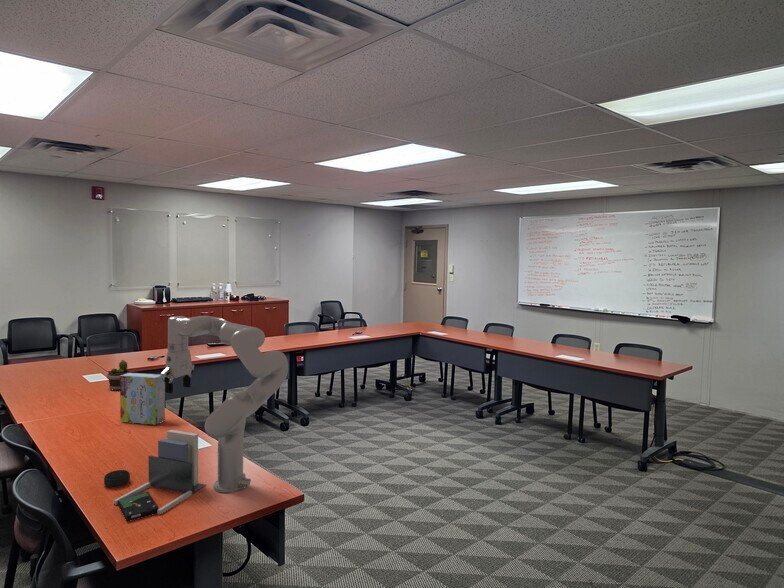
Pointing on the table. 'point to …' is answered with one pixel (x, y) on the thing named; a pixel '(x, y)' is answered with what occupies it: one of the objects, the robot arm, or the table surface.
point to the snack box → (142, 398)
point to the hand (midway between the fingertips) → (178, 389)
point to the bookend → (171, 475)
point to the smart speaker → (116, 478)
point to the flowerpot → (117, 375)
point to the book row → (181, 449)
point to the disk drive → (137, 506)
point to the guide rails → (161, 507)
